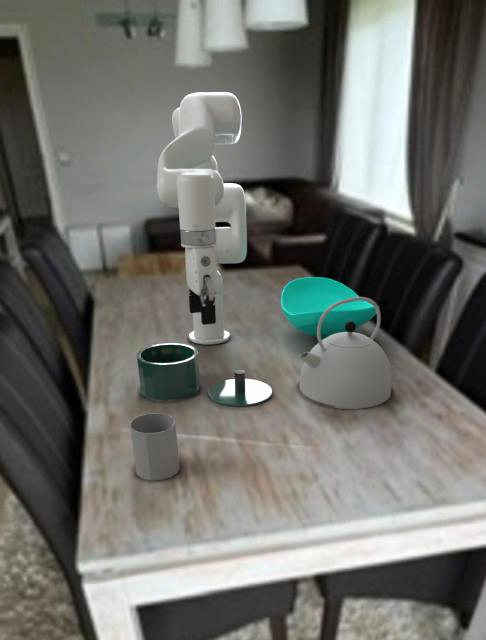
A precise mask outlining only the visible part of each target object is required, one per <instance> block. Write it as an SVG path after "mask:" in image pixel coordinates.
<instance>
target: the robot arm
mask: <svg viewBox="0 0 486 640" xmlns="http://www.w3.org/2000/svg"><path fill="white" fill-rule="evenodd" d="M242 116H243V115H242V108H241V104H240V102H239V99H238V97H237V96H236V95H234V94H233V93H231V92H225V91H223V92H220V91H219V92H217V91H216V92H215V91H214V92H193V93H190V94H187V95H185V96H184V97H183V99H182V100H181V102H180V105H179V107H177V108H176V109H175V110H174V111H173V112H172V116H171V123H172V130H173V133H174V137H175V138H174V139H173V140H172V141H171V142H170V143H169V144H168V145H166V147H165V148H164V149H163V150H162V152H161V153H160V155H159V158H158V162H157V177H156V190H157V197H158V200H159V201H160V203H161V204H162V205H163V206H164V207H166V208H170V209H178V216H179V217H178V219H179V232H180V246H181V247H182V248H185V249H184V257H185V258H184V259H185V261H184V262H185V278H186V285H187V288H188V303H189V305H188V306H189V313H190V314H192V325H193V331H191V332H190V333H189V334H188V340H189V341H190V342H192V343H194V344H198V345H206V346H207V345H208V346H210V345H211V346H212V345H220V344H223V343H226V342H228V341H229V340H230V337H231V335H230V332H229V331H227V330H225V301H224V280H223V276H222V275H221V273H220V272H219V271H218V266H217V265H218V264H219V265H221V264H240V263H243V262H244V261H245V260H246V258H247V253H248V237H247V236H248V233H247V231H248V229H247V201H246V195H245V191H244V189H243V187H242V186H241V185H240V184H237V183H232V182H231V183H229V182H228V183H227V182H225V183H224V180H223V177H221V174H220V173H219V171H218V163H217V160H216V158H215V156H214V154H215V153H216V149H217V145H233V144H236V143H237V142H238V141H239V140H240V137H241V133H242V120H243V119H242V118H243V117H242ZM216 223H228V224H229V225H230V226H222V227H221V226H219V227H217V226H216Z"/></svg>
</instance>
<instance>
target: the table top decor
mask: <svg viewBox="0 0 486 640" xmlns="http://www.w3.org/2000/svg"><path fill="white" fill-rule="evenodd" d="M355 297H360V296H359V295H358V294H357V293H356V292H355V291H354V290H353V289H351V288H350V287H348V285H347V286H346V285H345V284H344V283H341V282H340V281H337V280H334V279H332V278H328V277H321V276H307V277H299V278H295V279H293V280H290V281H289V282H288V283H287V284H286V285H285V286H284V287H283V288H282V292H281V295H280V306H281V307H280V308H281V311H282V313H283V315H284V317H286V319H287V320H288V322H289V323H290V324H291V325H292V326H293V327H294V328H295V329H296V330H298V331H300V332H301V333H304V334H305V335H308V336H310V337H314V338H317V326H318V322H319V320H320V318H321V316H322V314H323V313H324V312H325V311H326V309H328V308H329V307H330V306H331V305H333V304H335V303H337V302H339V301H342V300H345V299H349V298H355ZM377 306H378V307H379V308H380V306H379V305H377ZM375 316H377V312H376V309H375V307H374V306H373V305H372V304H371V303H369V302H367V301H352V302H348V303H344V304H341V305H339V306H337V307H335V308H333V309H332V310H331V311H330V312H329V313H328V314H327V315H326V316H325V318H324V319H323V322H322V325H321V329H320V336H321V340H323V339H325V338H327V337H329V336H330V335H333V334H336V333H341V332H347V331H346V330H345V324H346V323H347V322H348V321H353V322H354V323H355V324H356V329H358V328H360V327H362V326H363V325H365V324H366V323H368V322H369V321H371V320H372V319H373V318H374V317H375Z"/></svg>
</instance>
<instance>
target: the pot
mask: <svg viewBox="0 0 486 640" xmlns="http://www.w3.org/2000/svg"><path fill="white" fill-rule="evenodd" d="M136 361H137V370H138V378H139V387H140V393H141V395H142V396H143V397H144V396H145V397H146V398H149V399H152V400H159V401H175V400H181V399H185V398H189V397H191V396H193V395H196V393H198V391H199V390H200V388H201V382H200V381H201V380H200V365H199V352H198V349H197V348H195V347H193V346H192V345H188V344H185V343H174V342H173V343H172V342H171V343H168V342H167V343H158V344H153V345H149V346H147V347H144V348H142V349H140V350H139V351H138V352H137V353H136Z"/></svg>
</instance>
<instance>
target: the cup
mask: <svg viewBox="0 0 486 640" xmlns="http://www.w3.org/2000/svg"><path fill="white" fill-rule="evenodd" d="M129 427H130V428H129V429H130V437H131V445H132V453H133V459H134V466H135V472H136V475H137V476H138V477H140V479H142V480H147V481H163V480H168V479H170V478H172V477H173V476H175V475H177V474H178V472H179V470H180V458H179V457H180V456H179V445H178V435H177V424H176V420H175V417H173V416H171V415H170V414H168V413H161V412H149V413H145V414H141V415H139V416H136V417H134V418H133V419H131V421H130V422H129Z"/></svg>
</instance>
